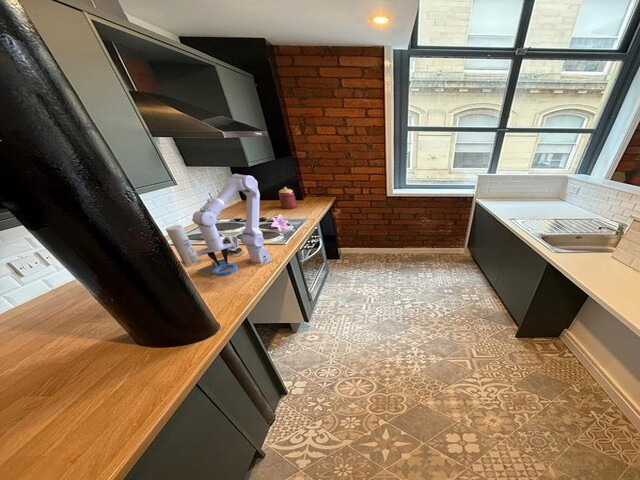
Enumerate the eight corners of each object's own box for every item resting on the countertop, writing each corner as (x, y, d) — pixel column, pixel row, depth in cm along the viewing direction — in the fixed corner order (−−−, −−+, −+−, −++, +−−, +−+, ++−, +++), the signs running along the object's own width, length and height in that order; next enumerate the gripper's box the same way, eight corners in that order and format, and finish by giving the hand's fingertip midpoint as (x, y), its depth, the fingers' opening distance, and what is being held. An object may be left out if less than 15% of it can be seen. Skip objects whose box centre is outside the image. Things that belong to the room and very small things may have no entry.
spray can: (186, 261, 131) (168, 226, 121) (201, 259, 133) (184, 224, 123) (182, 267, 126) (162, 230, 116) (197, 265, 128) (179, 228, 118)
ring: (239, 271, 112) (237, 266, 111) (216, 278, 107) (213, 272, 106) (234, 262, 120) (231, 256, 119) (211, 268, 115) (209, 262, 113)
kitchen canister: (283, 205, 227) (278, 185, 218) (298, 205, 229) (294, 185, 220) (279, 209, 216) (274, 188, 207) (295, 209, 218) (291, 188, 209)
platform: (236, 267, 127) (233, 259, 124) (212, 278, 117) (208, 269, 115) (221, 262, 131) (218, 254, 128) (197, 273, 121) (192, 264, 119)
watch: (226, 257, 137) (218, 239, 131) (236, 251, 143) (229, 233, 138) (235, 257, 136) (228, 239, 131) (245, 251, 143) (238, 233, 138)
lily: (270, 234, 169) (272, 223, 164) (268, 223, 175) (270, 212, 170) (289, 236, 177) (291, 226, 171) (287, 225, 183) (289, 215, 177)
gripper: (229, 232, 116) (238, 257, 123) (190, 239, 107) (203, 266, 114) (232, 236, 111) (242, 262, 118) (192, 244, 103) (205, 272, 110)
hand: (223, 265), depth 116 cm, fingers closed on ring, 2 cm apart
